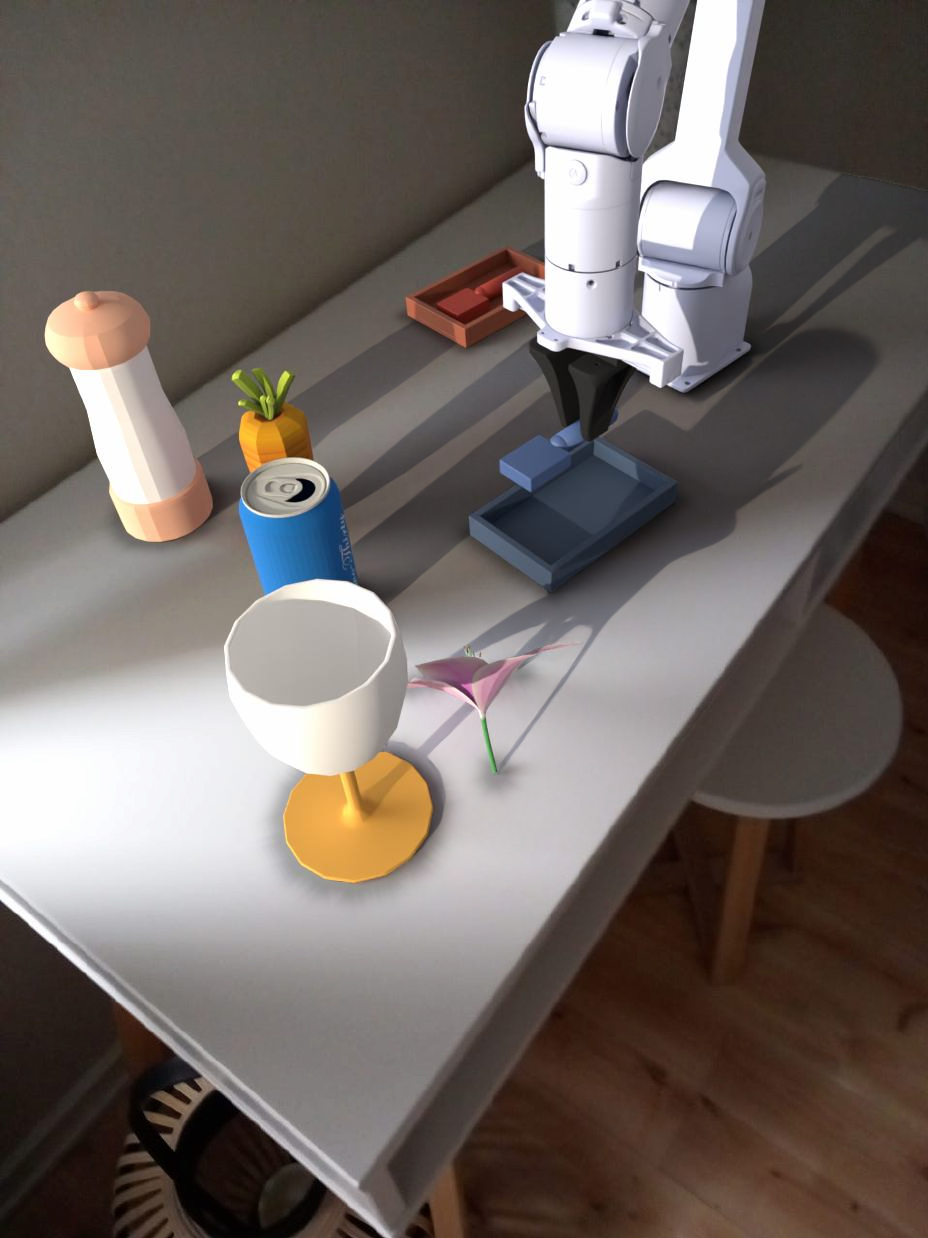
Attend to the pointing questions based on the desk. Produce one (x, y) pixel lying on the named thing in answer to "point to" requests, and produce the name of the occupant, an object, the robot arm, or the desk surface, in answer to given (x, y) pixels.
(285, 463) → the beverage can
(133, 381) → the pepper shaker
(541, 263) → the red tray
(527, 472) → the blue handled block
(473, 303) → the red handled block
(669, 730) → the desk surface
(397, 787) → the cup
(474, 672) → the lily
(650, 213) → the robot arm
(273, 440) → the carrot
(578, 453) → the blue tray
